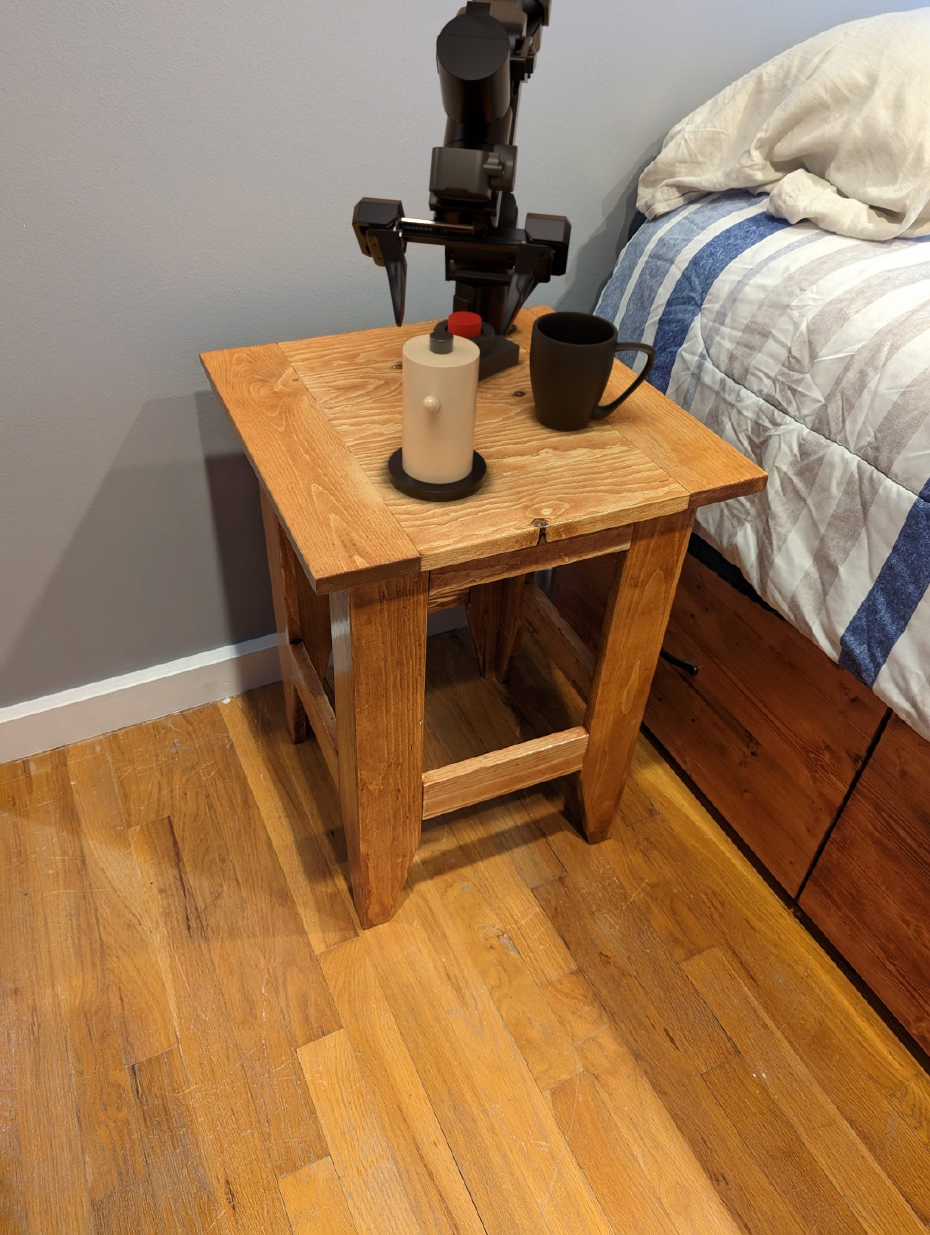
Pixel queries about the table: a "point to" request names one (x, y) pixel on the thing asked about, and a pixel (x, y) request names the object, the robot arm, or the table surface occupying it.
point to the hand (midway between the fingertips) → (450, 330)
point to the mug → (576, 368)
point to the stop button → (464, 324)
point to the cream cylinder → (439, 406)
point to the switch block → (490, 350)
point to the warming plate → (436, 491)
